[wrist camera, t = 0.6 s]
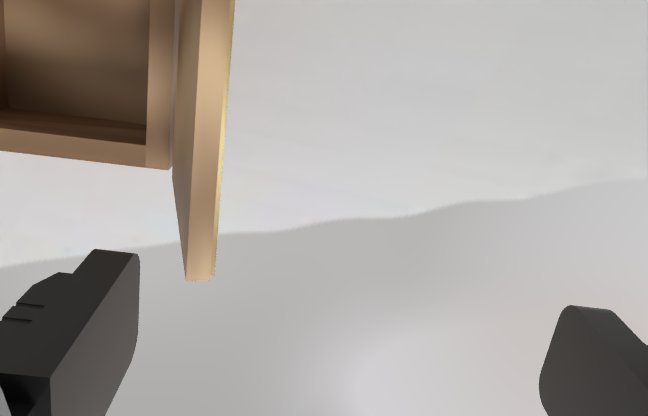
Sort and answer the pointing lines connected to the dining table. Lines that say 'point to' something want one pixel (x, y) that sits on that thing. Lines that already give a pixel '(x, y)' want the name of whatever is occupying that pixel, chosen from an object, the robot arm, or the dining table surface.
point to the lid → (201, 128)
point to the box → (90, 79)
